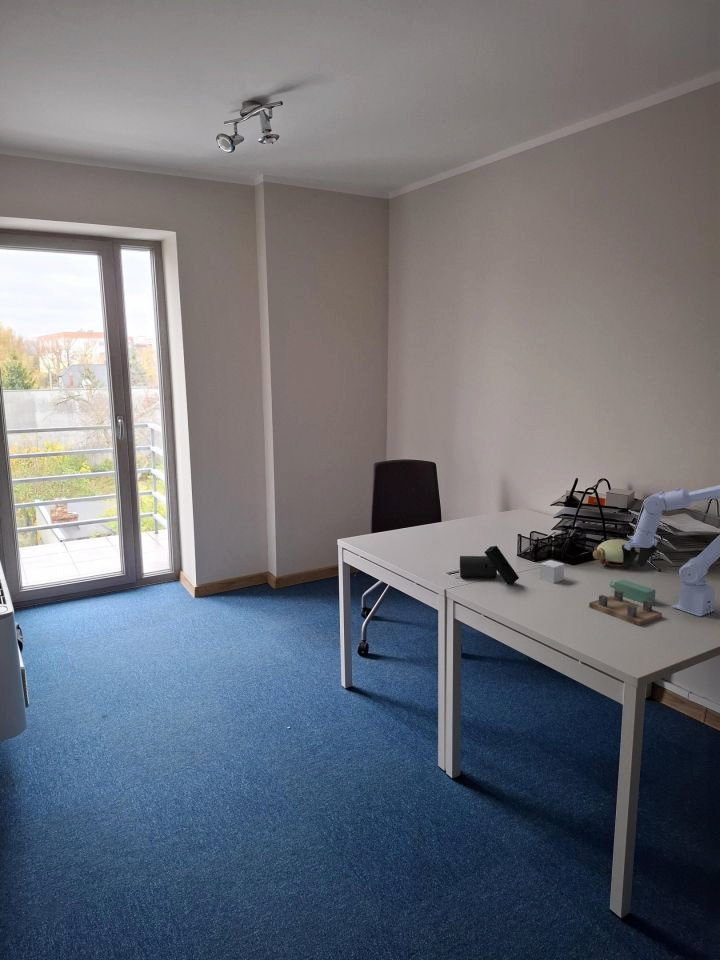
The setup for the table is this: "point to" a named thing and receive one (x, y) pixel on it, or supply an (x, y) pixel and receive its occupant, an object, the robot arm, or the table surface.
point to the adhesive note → (551, 571)
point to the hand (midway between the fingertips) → (633, 566)
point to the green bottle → (634, 591)
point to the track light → (488, 566)
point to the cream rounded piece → (611, 551)
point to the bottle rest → (626, 609)
